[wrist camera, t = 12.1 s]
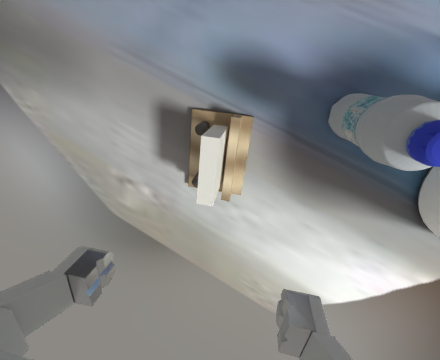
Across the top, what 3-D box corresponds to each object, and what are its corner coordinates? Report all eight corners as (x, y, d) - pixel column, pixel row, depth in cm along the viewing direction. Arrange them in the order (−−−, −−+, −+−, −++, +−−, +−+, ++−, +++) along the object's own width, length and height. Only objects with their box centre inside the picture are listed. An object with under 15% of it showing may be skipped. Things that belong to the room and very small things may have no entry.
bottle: (314, 124, 35) (377, 167, 17) (342, 82, 32) (455, 78, 14) (351, 144, 35) (452, 206, 17) (382, 104, 32) (543, 128, 14)
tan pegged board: (193, 108, 37) (186, 111, 33) (253, 116, 36) (253, 119, 32) (189, 184, 42) (183, 193, 39) (241, 192, 41) (239, 202, 38)
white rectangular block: (214, 124, 36) (201, 135, 28) (228, 126, 36) (219, 138, 28) (208, 179, 40) (196, 203, 32) (221, 181, 40) (212, 206, 32)
